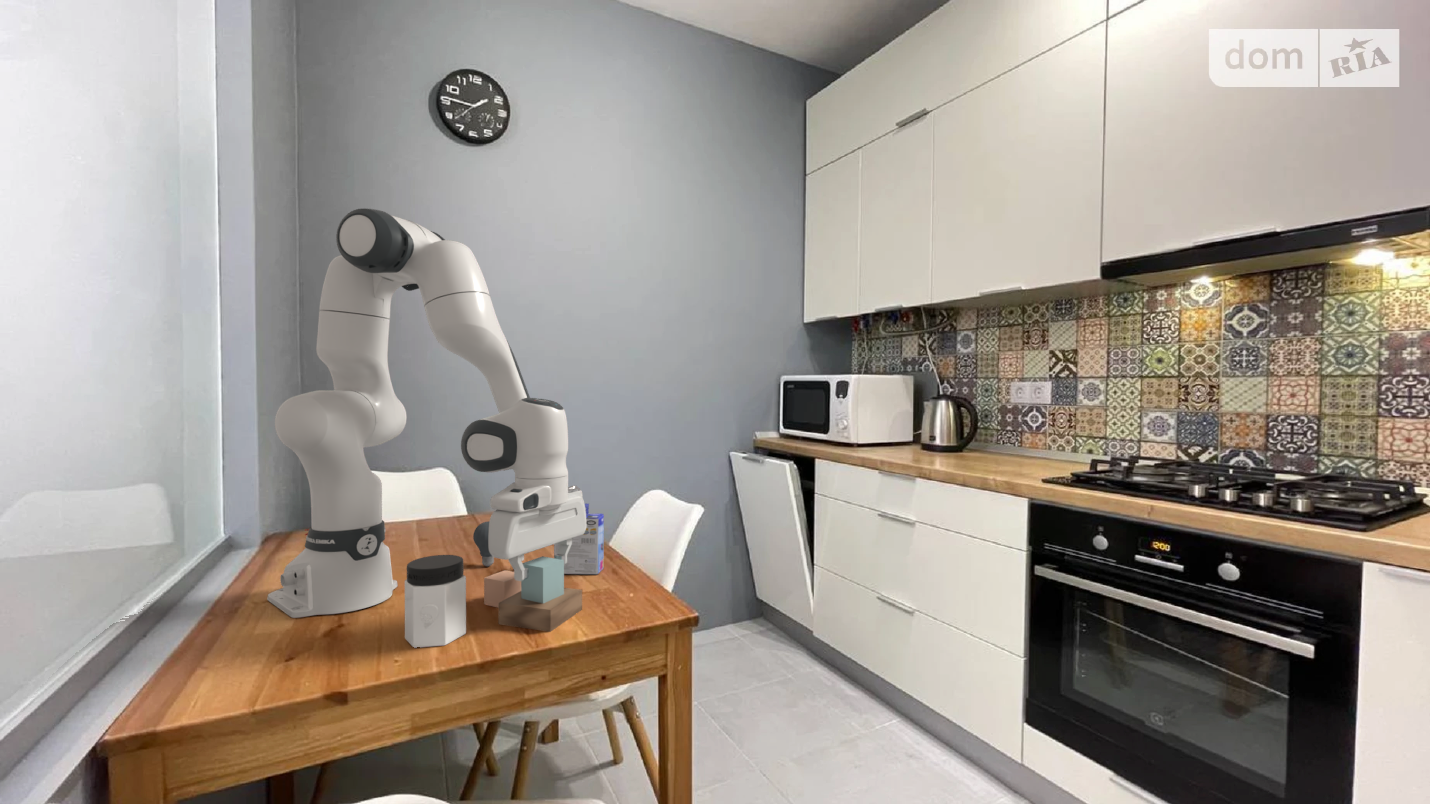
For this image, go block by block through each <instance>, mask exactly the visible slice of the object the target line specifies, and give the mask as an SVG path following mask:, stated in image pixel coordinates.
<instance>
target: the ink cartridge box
mask: <svg viewBox="0 0 1430 804" xmlns="http://www.w3.org/2000/svg"><path fill="white" fill-rule="evenodd" d="M584 504H585V510H586V523H587V527H586V530H585V533H584V534H583V535H580V536H577V537H574V538H572V545H571V547H570V550H569V552H568V554H567V563H566V564H564V575H599V574H600V573H601V572H602V571H603V570H604V568H605V567H604V566H605V563H604V561H605V559H604V552H605V551H604V550H605V549H604V548H605V547H604V546H605V545H604V543H605V542H604V541H605V540H604V538H605V536H604V535H605V533H604V532H605V529H604V528H605V527H604V525H605V523H604V522H605V521H604V520H605V518H604V517H605V515H604V513H589V511H590V503H584ZM559 546H560V544H558V543H556V544H553V556H554V555H556V554H557V552H558V549H559Z"/></svg>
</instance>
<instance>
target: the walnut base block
mask: <svg viewBox="0 0 1430 804" xmlns="http://www.w3.org/2000/svg"><path fill="white" fill-rule="evenodd" d="M581 611H583V589H579V588H570V587H564V594H563V595H561V596H559V597H557V598H554V599H552V600H550V601H548V602H546V603H539V602H534V601H530V600H526V599H522V598H521V591H520V592H518V593H516V594H514V595H513V596H511V597H509V598H507V599H505V600H503V601H501V602H500V603H499V608H498V625H501V626H502V625H503V626H508V627H509V626H510V627H516V628H523V629H530V630H537V631H544V632H550V633H551V632H552V631H554V630H556V629H557V628H558V627H560V626H561V625H563V624H564V623H566V622H567V621H568V620H570V619H571V618H573V617H574V616H575V615H577V614H579V613H580V612H581ZM576 613H577V614H576Z"/></svg>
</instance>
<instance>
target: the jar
mask: <svg viewBox="0 0 1430 804" xmlns="http://www.w3.org/2000/svg"><path fill="white" fill-rule="evenodd" d="M466 633H467V577H466V575H464V558H463V557H462V556H460V555H456V554H436V555H429V556H424V557H420V558H416V559H413V560H411V561H410V562H408V563H407V564H406V579H405V580H404V639H405V640H406V641H407V642H408V643H409V644H410V645H411V647H412V648H413V647H414V649H418V648H417V647H420V648H428V647H429V648H430V647H432V648H433V647H441V646H446V645H448V644H450V643H452V642H454V641H455V640H457V639H459V638H461V637H462V636H464V635H466Z"/></svg>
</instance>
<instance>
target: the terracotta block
mask: <svg viewBox="0 0 1430 804" xmlns="http://www.w3.org/2000/svg"><path fill="white" fill-rule="evenodd" d="M483 589H484V590H483V592H484V593H483V594H484V595H483V597H484V599H483V601H484V602H483V604H484V605H486V606H490V607H494V608H498V609H499V603H500V602H501V601H503V600H505V599H507V598H509V597H511V596H513V595H514V594H516V593H518V592H520V591H521V581H517V580H515V578H514V571H511V570H505V569H504V570H502V571H500V572H497V573H493V574H491V575H489V576H488V575H487V576H486V577H485V576H484V578H483Z"/></svg>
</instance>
